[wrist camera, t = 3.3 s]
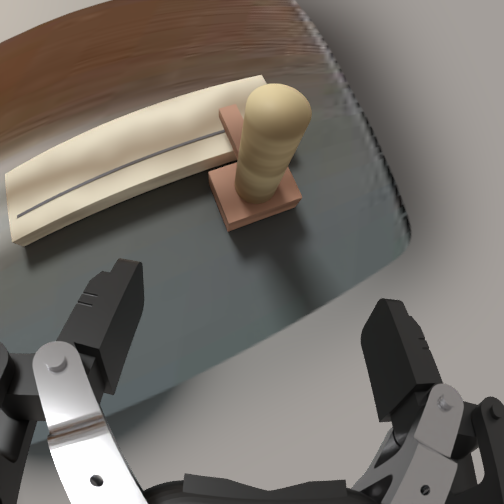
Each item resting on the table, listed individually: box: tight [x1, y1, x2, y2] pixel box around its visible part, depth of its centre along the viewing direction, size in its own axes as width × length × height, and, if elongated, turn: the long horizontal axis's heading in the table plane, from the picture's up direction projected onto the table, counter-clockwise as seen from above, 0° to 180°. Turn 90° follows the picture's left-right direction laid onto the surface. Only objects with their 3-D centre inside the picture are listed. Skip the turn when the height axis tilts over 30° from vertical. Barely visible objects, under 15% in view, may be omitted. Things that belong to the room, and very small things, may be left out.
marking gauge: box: [208, 84, 312, 232], centre depth 21 cm, size 8×6×12 cm
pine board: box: [5, 75, 266, 247], centre depth 25 cm, size 7×26×2 cm, turn 112°
